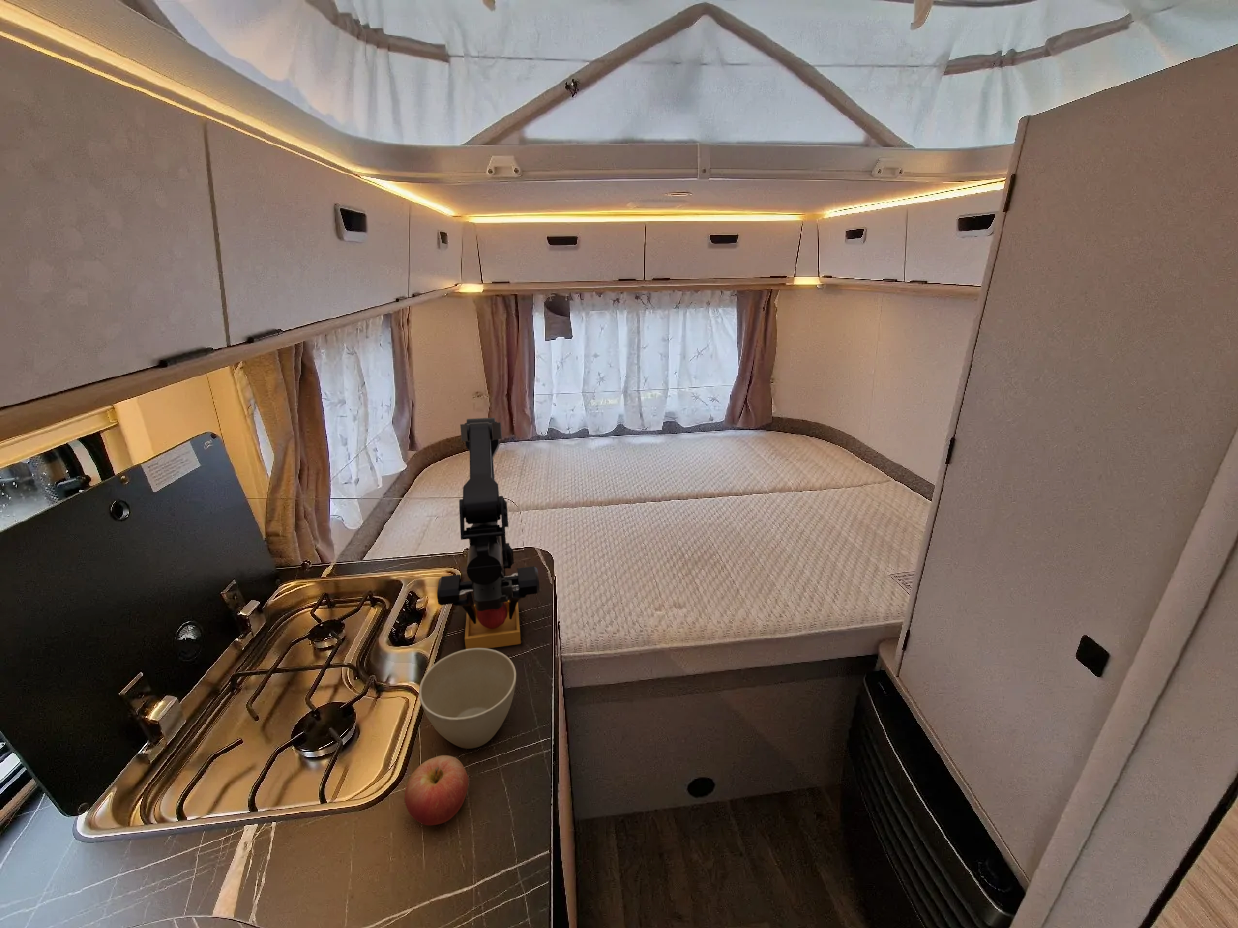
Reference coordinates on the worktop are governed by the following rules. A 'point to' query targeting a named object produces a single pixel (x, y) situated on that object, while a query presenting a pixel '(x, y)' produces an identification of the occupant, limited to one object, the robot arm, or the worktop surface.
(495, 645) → the amber tray
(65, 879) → the worktop surface
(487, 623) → the onion
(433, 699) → the flower pot
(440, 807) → the apple
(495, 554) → the robot arm
